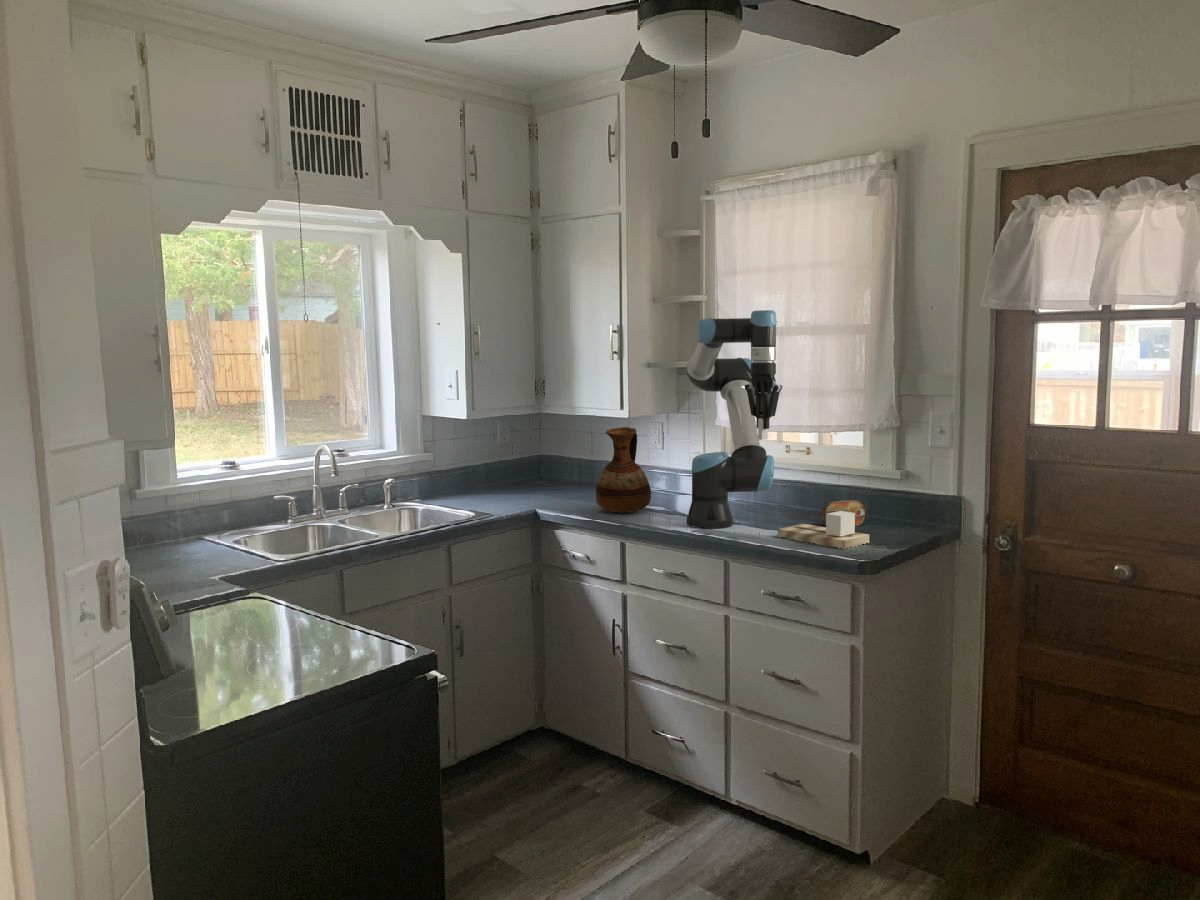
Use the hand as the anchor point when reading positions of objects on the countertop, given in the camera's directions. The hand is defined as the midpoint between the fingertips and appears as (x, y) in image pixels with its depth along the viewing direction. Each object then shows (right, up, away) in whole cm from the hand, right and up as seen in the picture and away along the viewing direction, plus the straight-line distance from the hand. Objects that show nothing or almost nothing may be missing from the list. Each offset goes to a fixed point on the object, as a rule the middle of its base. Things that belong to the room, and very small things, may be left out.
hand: (762, 439), depth 282 cm
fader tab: (+21, -28, -12) cm, 36 cm away
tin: (+28, -28, +14) cm, 42 cm away
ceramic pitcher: (-41, -25, +48) cm, 68 cm away
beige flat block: (+17, -30, -7) cm, 35 cm away
